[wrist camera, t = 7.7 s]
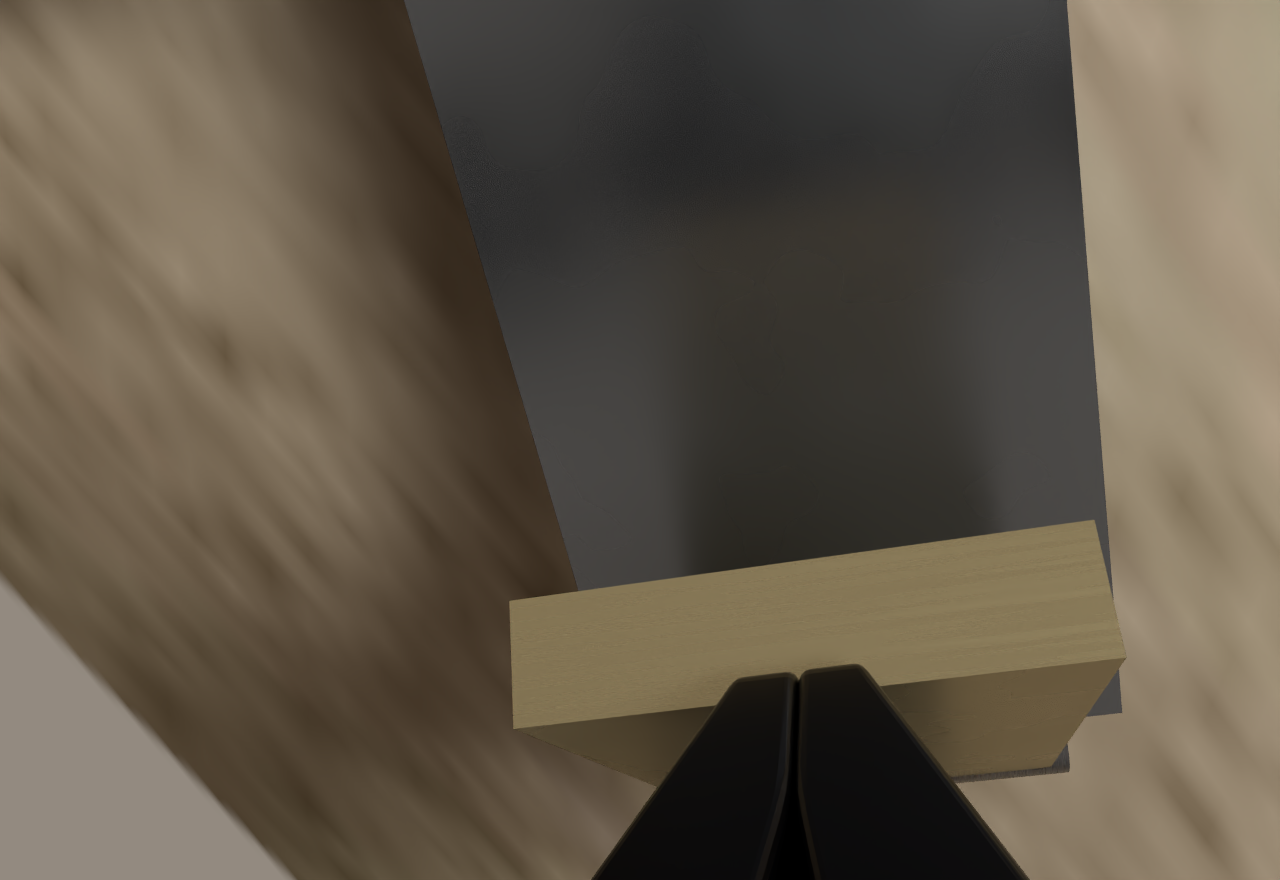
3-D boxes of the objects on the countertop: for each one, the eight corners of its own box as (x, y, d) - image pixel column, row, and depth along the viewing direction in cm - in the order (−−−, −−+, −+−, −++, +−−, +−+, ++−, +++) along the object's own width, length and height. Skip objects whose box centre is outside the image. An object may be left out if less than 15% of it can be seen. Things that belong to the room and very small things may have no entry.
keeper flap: (1047, 690, 14) (1065, 775, 14) (686, 730, 15) (692, 813, 15) (1124, 506, 8) (1162, 661, 7) (482, 597, 8) (485, 739, 8)
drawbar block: (1028, 477, 19) (1121, 712, 14) (671, 530, 20) (630, 765, 15) (890, -809, 13) (966, -1293, 8) (380, -626, 14) (129, -930, 9)
